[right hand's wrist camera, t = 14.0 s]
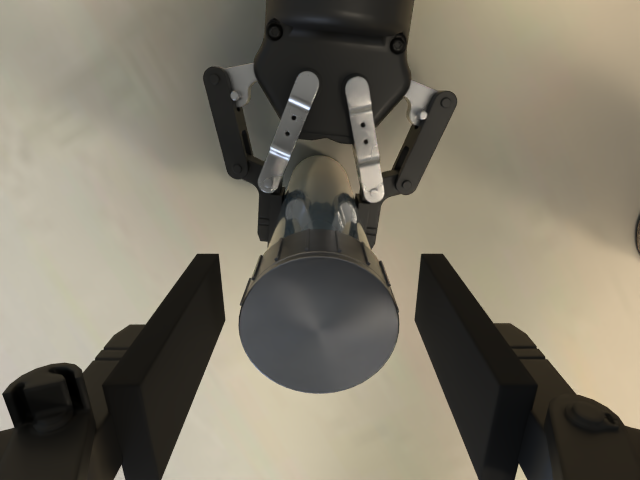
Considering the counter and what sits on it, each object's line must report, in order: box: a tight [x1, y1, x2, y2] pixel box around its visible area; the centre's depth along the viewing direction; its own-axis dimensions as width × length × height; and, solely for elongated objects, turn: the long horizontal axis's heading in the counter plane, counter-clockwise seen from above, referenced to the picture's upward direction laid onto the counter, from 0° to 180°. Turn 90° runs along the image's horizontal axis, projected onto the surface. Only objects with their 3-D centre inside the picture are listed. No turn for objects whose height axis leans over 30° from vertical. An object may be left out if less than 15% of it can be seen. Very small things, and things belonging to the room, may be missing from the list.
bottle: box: [267, 155, 371, 250], centre depth 22 cm, size 4×4×19 cm
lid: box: [239, 229, 399, 393], centre depth 13 cm, size 5×5×2 cm
